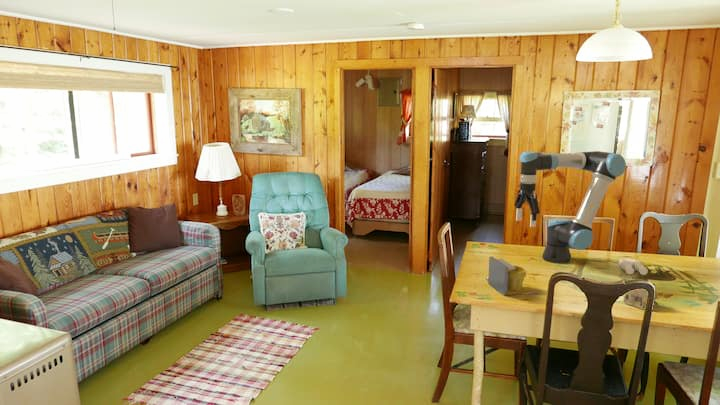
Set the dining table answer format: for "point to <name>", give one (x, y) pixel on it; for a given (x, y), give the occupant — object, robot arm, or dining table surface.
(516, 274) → the plant pot
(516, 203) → the robot arm
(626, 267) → the binoculars
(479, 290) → the dining table surface
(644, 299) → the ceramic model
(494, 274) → the bracket
